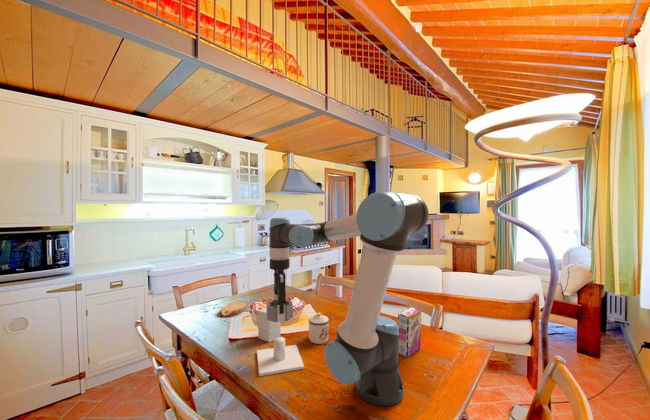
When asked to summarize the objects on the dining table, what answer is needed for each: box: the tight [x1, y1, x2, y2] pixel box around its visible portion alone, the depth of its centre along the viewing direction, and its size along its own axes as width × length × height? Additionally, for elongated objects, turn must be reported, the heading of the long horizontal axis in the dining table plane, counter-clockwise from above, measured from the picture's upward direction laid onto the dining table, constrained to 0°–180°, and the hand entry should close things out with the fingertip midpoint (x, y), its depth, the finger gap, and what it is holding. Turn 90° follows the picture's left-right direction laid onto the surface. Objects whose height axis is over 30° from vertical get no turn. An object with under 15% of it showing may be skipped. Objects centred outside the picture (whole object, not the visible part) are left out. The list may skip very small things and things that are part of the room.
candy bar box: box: [397, 306, 422, 359], centre depth 113 cm, size 11×5×16 cm, turn 134°
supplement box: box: [257, 307, 282, 343], centre depth 124 cm, size 7×7×13 cm
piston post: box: [256, 336, 305, 377], centre depth 106 cm, size 16×16×8 cm
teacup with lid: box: [308, 312, 330, 345], centre depth 124 cm, size 12×9×12 cm
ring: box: [265, 299, 294, 322], centre depth 105 cm, size 10×10×5 cm
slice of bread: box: [218, 300, 248, 319], centre depth 156 cm, size 18×18×4 cm
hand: (279, 316), depth 106 cm, fingers closed on ring, 10 cm apart
